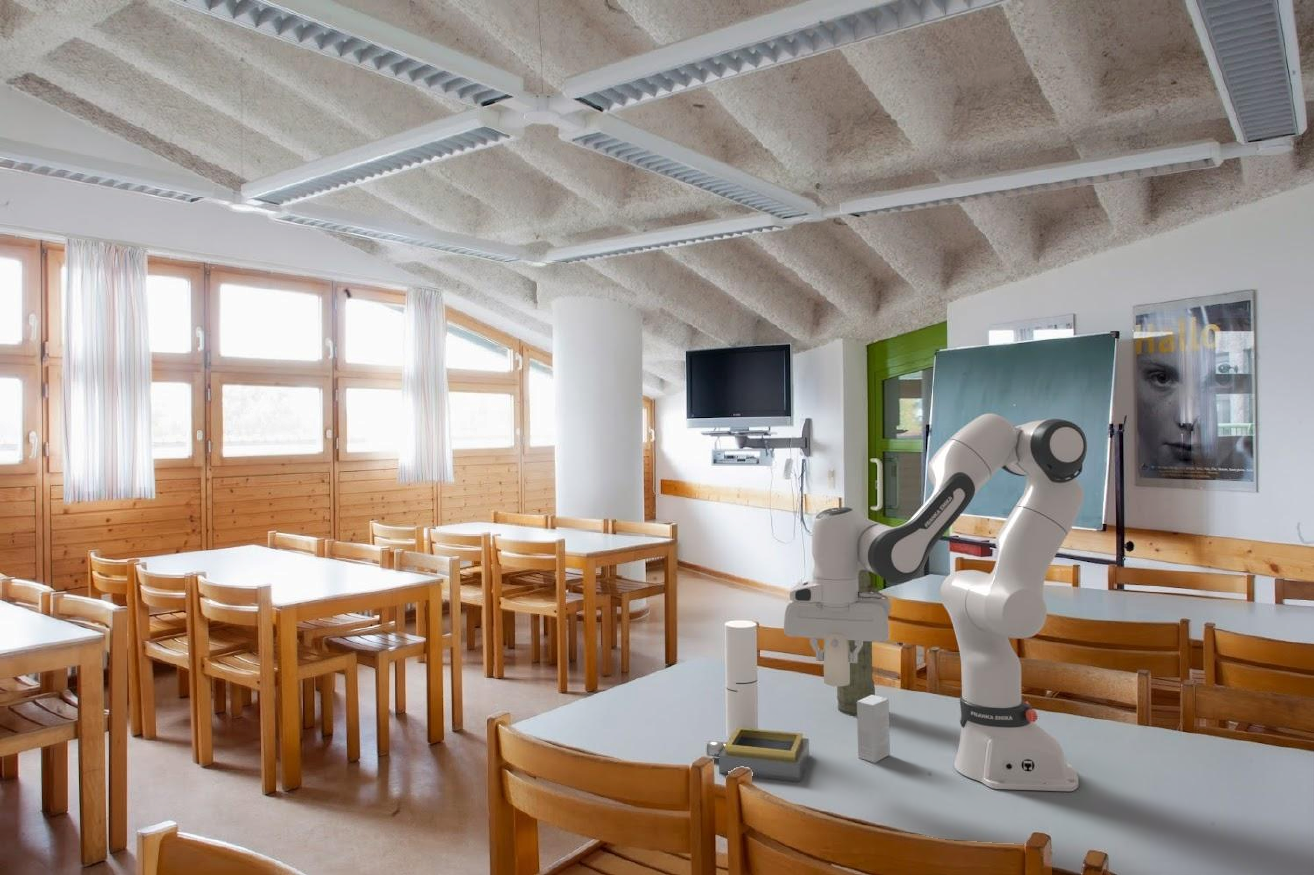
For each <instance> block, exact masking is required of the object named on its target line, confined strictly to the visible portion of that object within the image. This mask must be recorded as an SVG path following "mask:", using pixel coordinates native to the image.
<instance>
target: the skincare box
mask: <svg viewBox="0 0 1314 875" xmlns="http://www.w3.org/2000/svg"><path fill="white" fill-rule="evenodd" d="M889 701H890V700H889V698H888V697H884V696H880V695H876V694H875V695H870V696H868V697H866V698H863V699H861V700H859V701H857V716H856V717H857V718H856V719H857V720H856V722H857V757H858V759H862V760H864V761H868V762H871V763H877V762H880V761H881V760H882V759H884V758H886V757H888V756H890V754H891V749H890V748H891V747H890V746H891V744H890V742H891V741H890V740H891V739H890V737H891V736H890V702H889Z"/></svg>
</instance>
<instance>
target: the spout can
mask: <svg viewBox="0 0 1314 875" xmlns="http://www.w3.org/2000/svg"><path fill="white" fill-rule="evenodd" d="M822 640H823V645H822V646H823V649H822V650H824V661H823V683H824V684H825V685H828V686H831V687H837V686H847V685H849V684H850V663H849V659H850V658H849V653H850V647H849V640H845V638H844V634H830V633H826V639H822Z"/></svg>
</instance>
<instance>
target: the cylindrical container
mask: <svg viewBox="0 0 1314 875" xmlns="http://www.w3.org/2000/svg"><path fill="white" fill-rule="evenodd" d="M757 625H758V624H757V622H755V621H751V620H743V619H742V620H736V619H735V620H731V621H726V622H725V623H724V658H725V659H724V664H725V665H724V666H725V669H724V670H725V672H724V674H725V730H726V731H725V732H726V734H725V735H726V737H727V738H729V739H730V737H731V736H732V734H733V733H734V732H735V730H736V728H737V727H738V728H749V729H759V707H758V704H759V703H758V702H759V700H758V699H759V698H758V696H759V695H758V693H759V692H758V636H757V635H758V634H757V632H758V630H757Z"/></svg>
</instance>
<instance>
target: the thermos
mask: <svg viewBox="0 0 1314 875" xmlns="http://www.w3.org/2000/svg"><path fill="white" fill-rule="evenodd" d="M871 581H872V580H871V576H870V572H869V571H868V570H861V571H859V573H858V587H859V592H868V593H880V592H879V590H878V588H877V587H876V586H873V585H871V584H872V583H871ZM849 647H850V652H854V651H855V649H856V648H857V646H855V640H849ZM870 695H876V688H875V682H874V678H873V642H872V641H863V645H862V648H861V649H860V651H859V653H858V654H857V663H850V684H849V685H847V686H836V699H837V710H838V711H839V712H840V713H843V714H845V715H848V714H850V715H849V716H855V715H857V701H859V700H861V699H863V698H866V697H868V696H870ZM851 714H852V715H851Z"/></svg>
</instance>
